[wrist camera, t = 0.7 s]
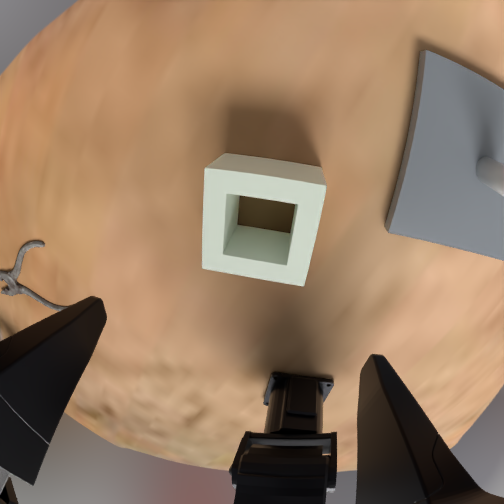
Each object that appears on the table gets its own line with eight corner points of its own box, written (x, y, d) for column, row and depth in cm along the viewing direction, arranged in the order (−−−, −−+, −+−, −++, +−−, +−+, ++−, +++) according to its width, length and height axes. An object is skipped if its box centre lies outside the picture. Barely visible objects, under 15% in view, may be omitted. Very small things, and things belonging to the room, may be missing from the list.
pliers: (84, 308, 27) (25, 326, 34) (88, 303, 28) (28, 323, 34) (35, 234, 23) (-9, 277, 30) (40, 230, 24) (-6, 274, 30)
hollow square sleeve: (304, 251, 20) (303, 286, 16) (219, 237, 20) (201, 268, 17) (321, 167, 17) (327, 185, 13) (224, 152, 17) (204, 167, 14)
